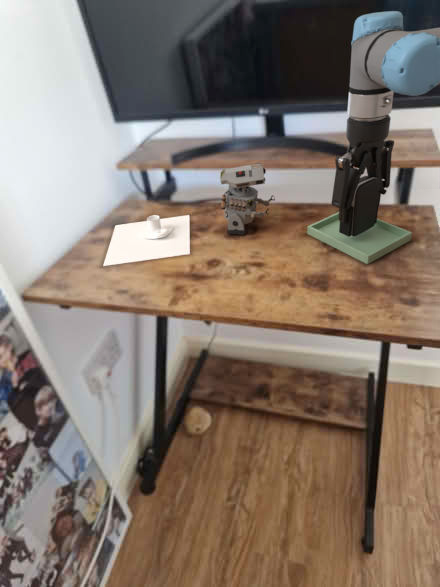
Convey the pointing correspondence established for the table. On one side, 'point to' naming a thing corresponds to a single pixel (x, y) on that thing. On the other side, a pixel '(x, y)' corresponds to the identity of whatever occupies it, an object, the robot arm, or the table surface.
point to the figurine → (242, 196)
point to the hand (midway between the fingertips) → (357, 227)
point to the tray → (360, 238)
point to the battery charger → (365, 204)
